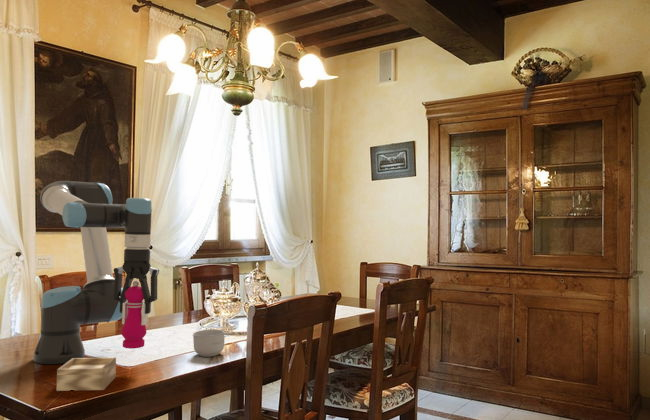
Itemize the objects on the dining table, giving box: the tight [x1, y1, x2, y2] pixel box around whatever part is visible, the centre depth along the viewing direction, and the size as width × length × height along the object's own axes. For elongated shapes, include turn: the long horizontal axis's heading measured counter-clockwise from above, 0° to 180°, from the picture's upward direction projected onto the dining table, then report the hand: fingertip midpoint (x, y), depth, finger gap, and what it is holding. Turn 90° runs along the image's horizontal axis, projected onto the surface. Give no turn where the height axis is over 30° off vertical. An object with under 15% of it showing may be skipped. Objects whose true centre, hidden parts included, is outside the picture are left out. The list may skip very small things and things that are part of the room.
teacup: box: [192, 328, 225, 358], centre depth 187 cm, size 14×11×8 cm
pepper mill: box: [121, 280, 147, 350], centre depth 164 cm, size 7×7×20 cm
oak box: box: [56, 357, 117, 392], centre depth 150 cm, size 12×12×6 cm
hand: (134, 323), depth 164 cm, fingers closed on pepper mill, 5 cm apart
